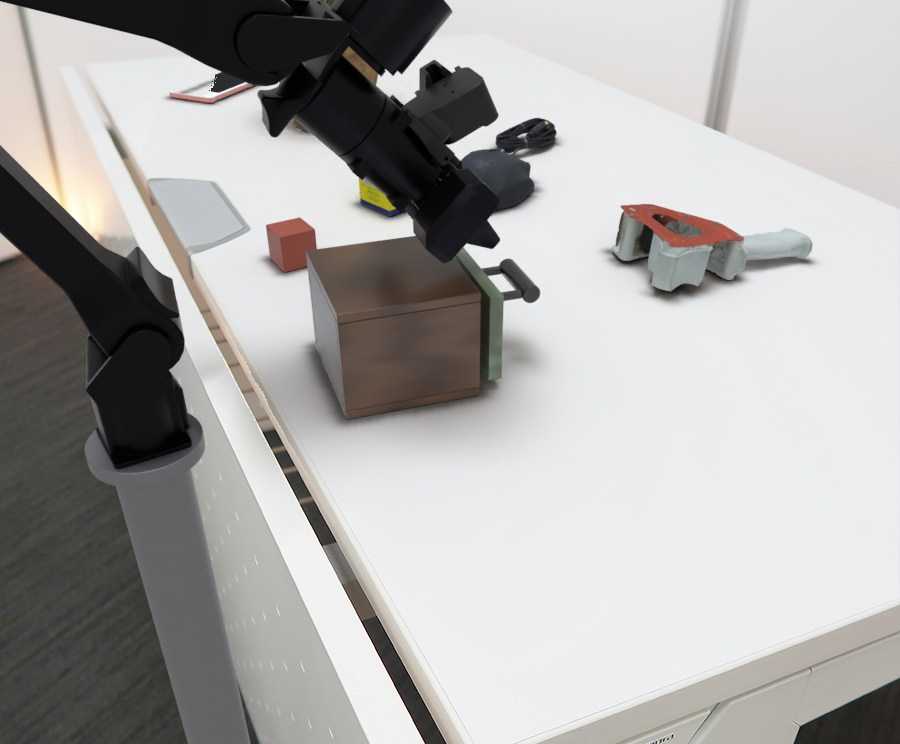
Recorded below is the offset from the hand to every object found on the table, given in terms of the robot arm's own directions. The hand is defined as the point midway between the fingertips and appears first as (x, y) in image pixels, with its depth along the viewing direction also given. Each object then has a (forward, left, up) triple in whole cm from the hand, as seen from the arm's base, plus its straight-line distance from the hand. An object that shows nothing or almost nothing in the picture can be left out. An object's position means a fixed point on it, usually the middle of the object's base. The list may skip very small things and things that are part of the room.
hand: (495, 243), depth 78 cm
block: (-7, +28, -11) cm, 31 cm away
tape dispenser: (+28, +3, -11) cm, 31 cm away
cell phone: (+11, +100, -11) cm, 101 cm away
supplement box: (+10, +37, -11) cm, 40 cm away
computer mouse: (+28, +39, -11) cm, 50 cm away
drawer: (-4, +1, -10) cm, 11 cm away
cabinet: (-9, +2, -11) cm, 14 cm away
